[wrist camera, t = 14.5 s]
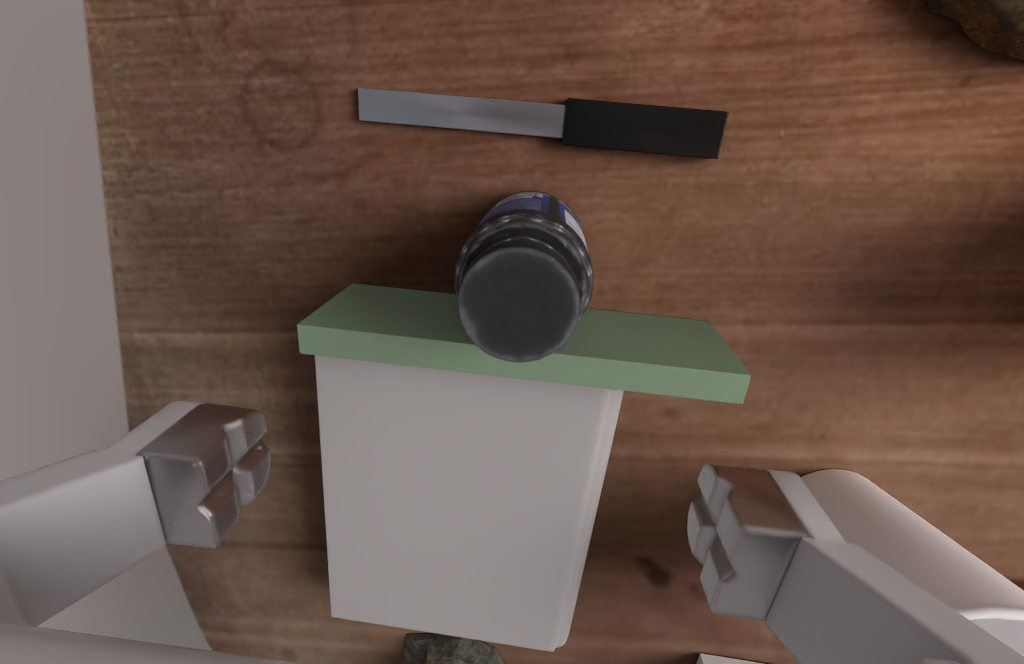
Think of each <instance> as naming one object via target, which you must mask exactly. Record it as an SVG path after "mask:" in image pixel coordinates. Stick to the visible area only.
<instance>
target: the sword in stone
mask: <svg viewBox="0 0 1024 664" xmlns="http://www.w3.org/2000/svg"><path fill="white" fill-rule="evenodd" d="M402 657H403V659H404V661H405V663H406V664H505V663H504V661H503V660H502V658H501V656H500V655H499V653H498V651H497V649H496V648H494V647H492V646H489V645H487V644H485V643H483V642H481V641H479V640H475V639H469V638H462V637H456V636H450V635H443V634H407V637H406V642H405V647H404V651H403V656H402Z"/></svg>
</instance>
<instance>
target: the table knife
mask: <svg viewBox="0 0 1024 664" xmlns="http://www.w3.org/2000/svg"><path fill="white" fill-rule="evenodd" d="M358 102H359V120H361V121H373V122H384V123H395V124H406V125H417V126H428V127H439V128H451V129H462V130H473V131H484V132H495V133H506V134H518V135H529V136H540V137H551V138H562V145H568V146H579V147H591V148H602V149H613V150H624V151H635V152H646V153H657V154H668V155H679V156H690V157H701V158H712V159H718V156H719V152H720V147H721V143H722V139H723V135H724V130H725V126H726V122H727V118H728V112H724V111H712V110H700V109H689V108H677V107H665V106H654V105H642V104H630V103H618V102H607V101H595V100H583V99H572V98H568V99H567V102H566V105H558V104H546V103H535V102H523V101H511V100H500V99H488V98H477V97H465V96H453V95H442V94H430V93H418V92H407V91H395V90H384V89H372V88H360V87H359V88H358Z"/></svg>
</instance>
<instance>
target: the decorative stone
mask: <svg viewBox="0 0 1024 664" xmlns="http://www.w3.org/2000/svg"><path fill="white" fill-rule="evenodd" d="M926 1H927V4H928V6H929V9H930V11H931V12H932V13H934V14H938V15H943V16H946V17H949V18H952V19H954V20H956V21H957V22H959V23H960V24H961V26H962V28H963V30H964V31H965V33H966V35H967V36H968V37H969V38H970V39H971V40H972V41H973V42H975V43H976V44H977V45H979V46H981V47H982V48H984V49H987V50H990V51H993V52H997V53H1003V54H1005V55H1007V56H1009V57H1011V58H1016V59H1019V60H1022V61H1024V0H926Z"/></svg>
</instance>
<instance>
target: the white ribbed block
mask: <svg viewBox="0 0 1024 664" xmlns="http://www.w3.org/2000/svg"><path fill="white" fill-rule="evenodd" d="M696 664H764V663H757V662H751V661H745V660H739V659H732V658H726V657H720V656H714V655H707V654H701V653H700V655H699V658H698V660H697V663H696Z"/></svg>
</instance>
